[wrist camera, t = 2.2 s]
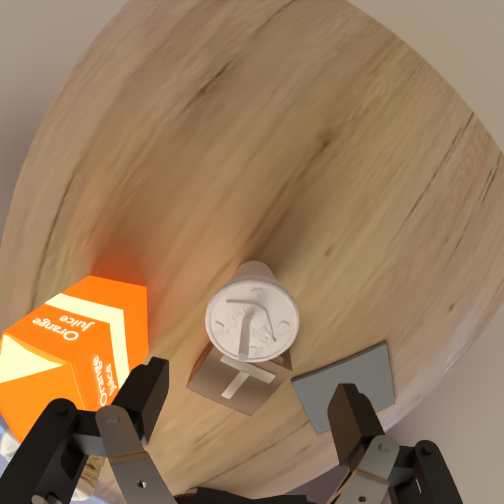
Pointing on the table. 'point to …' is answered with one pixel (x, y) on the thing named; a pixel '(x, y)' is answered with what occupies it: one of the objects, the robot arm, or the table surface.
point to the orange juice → (72, 350)
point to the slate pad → (347, 371)
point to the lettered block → (238, 379)
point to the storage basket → (86, 479)
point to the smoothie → (252, 315)
